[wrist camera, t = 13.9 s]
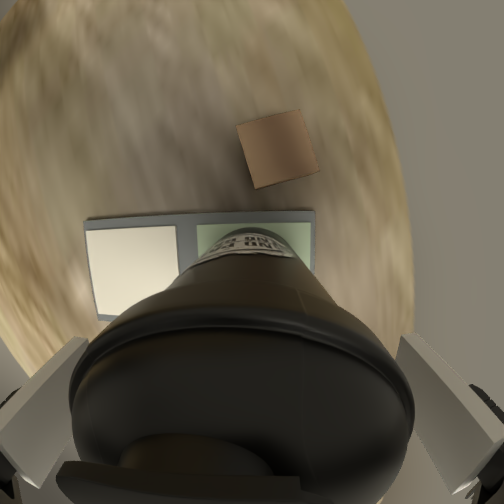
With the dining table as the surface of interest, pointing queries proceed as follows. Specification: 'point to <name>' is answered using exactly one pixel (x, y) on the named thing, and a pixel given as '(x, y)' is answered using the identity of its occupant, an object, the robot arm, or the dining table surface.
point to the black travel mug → (237, 391)
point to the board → (172, 249)
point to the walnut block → (277, 149)
